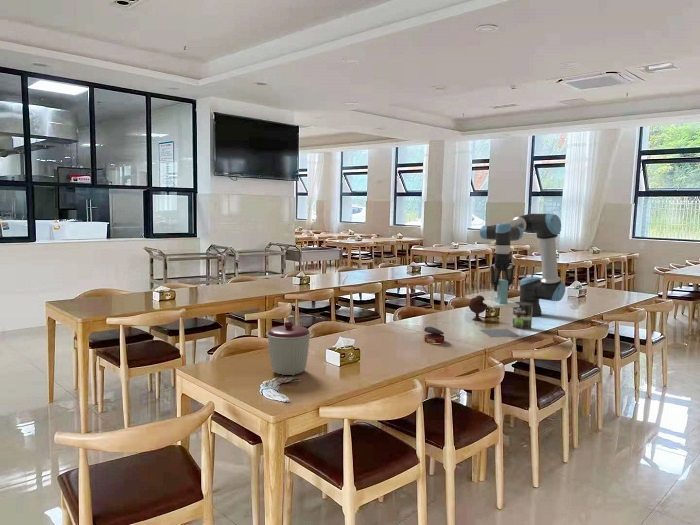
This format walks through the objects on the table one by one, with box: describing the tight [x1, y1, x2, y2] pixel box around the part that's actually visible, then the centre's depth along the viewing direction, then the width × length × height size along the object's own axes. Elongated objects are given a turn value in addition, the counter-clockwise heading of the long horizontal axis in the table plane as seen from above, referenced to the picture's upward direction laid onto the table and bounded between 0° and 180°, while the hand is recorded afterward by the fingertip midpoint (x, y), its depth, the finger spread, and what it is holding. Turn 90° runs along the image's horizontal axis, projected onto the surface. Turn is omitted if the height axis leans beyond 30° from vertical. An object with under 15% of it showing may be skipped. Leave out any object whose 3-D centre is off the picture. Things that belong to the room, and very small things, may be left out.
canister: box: [265, 320, 312, 376], centre depth 209 cm, size 18×18×21 cm
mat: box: [479, 328, 520, 338], centre depth 275 cm, size 16×16×1 cm
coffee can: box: [512, 301, 533, 331], centre depth 288 cm, size 10×10×14 cm
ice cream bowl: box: [467, 294, 488, 322], centre depth 308 cm, size 11×11×15 cm
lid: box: [483, 278, 520, 309], centre depth 273 cm, size 14×14×13 cm
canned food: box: [423, 326, 445, 344], centre depth 259 cm, size 11×10×10 cm
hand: (501, 297), depth 273 cm, fingers closed on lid, 4 cm apart
